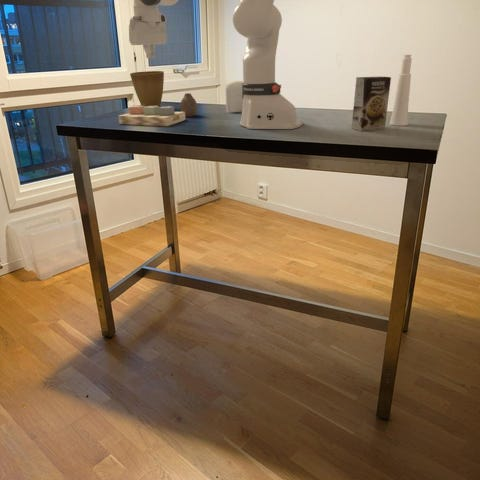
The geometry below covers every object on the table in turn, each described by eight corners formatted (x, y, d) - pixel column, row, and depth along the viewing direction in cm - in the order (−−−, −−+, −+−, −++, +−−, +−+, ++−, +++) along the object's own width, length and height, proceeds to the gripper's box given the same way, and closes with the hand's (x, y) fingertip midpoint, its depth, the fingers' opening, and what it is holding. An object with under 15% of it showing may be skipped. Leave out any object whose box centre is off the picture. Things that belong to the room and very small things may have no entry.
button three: (160, 114, 165) (159, 105, 164) (154, 116, 161) (153, 107, 160) (150, 113, 167) (149, 105, 165) (144, 115, 163) (143, 107, 162)
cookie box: (361, 131, 137) (366, 78, 130) (351, 128, 143) (355, 76, 136) (385, 129, 139) (392, 76, 133) (374, 125, 145) (380, 75, 138)
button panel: (185, 119, 167) (184, 111, 166) (167, 126, 156) (166, 117, 154) (140, 117, 175) (139, 110, 173) (119, 123, 163) (118, 115, 162)
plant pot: (145, 106, 205) (141, 71, 198) (172, 107, 200) (169, 70, 193) (128, 111, 192) (123, 73, 185) (157, 112, 187) (153, 73, 181)
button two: (174, 114, 163) (173, 106, 161) (168, 116, 159) (168, 107, 158) (164, 114, 164) (163, 105, 163) (158, 116, 161) (157, 107, 159)
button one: (145, 113, 167) (144, 105, 166) (139, 115, 164) (138, 106, 162) (136, 113, 169) (135, 105, 167) (130, 115, 165) (128, 106, 164)
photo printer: (228, 113, 179) (226, 82, 173) (225, 112, 182) (223, 81, 177) (251, 111, 181) (250, 80, 176) (247, 110, 185) (247, 80, 180)
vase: (195, 117, 172) (193, 94, 168) (178, 117, 173) (176, 94, 170) (199, 114, 178) (198, 92, 174) (184, 114, 180) (182, 92, 176)
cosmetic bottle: (398, 126, 143) (407, 55, 133) (385, 123, 148) (393, 55, 138) (411, 124, 145) (421, 54, 136) (398, 122, 150) (407, 54, 141)
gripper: (137, 15, 145) (141, 59, 151) (168, 17, 162) (171, 56, 168) (122, 16, 148) (127, 59, 154) (154, 17, 165) (157, 56, 171)
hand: (150, 57), depth 161 cm, fingers closed
